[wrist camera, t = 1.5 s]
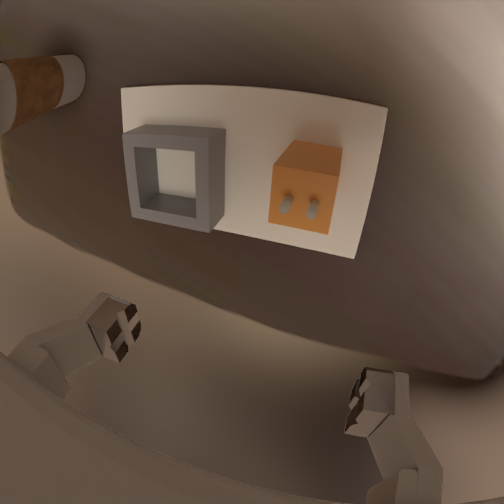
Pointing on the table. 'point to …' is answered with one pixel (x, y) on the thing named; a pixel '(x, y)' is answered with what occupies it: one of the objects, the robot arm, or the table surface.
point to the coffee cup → (37, 87)
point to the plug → (305, 186)
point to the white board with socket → (243, 157)
